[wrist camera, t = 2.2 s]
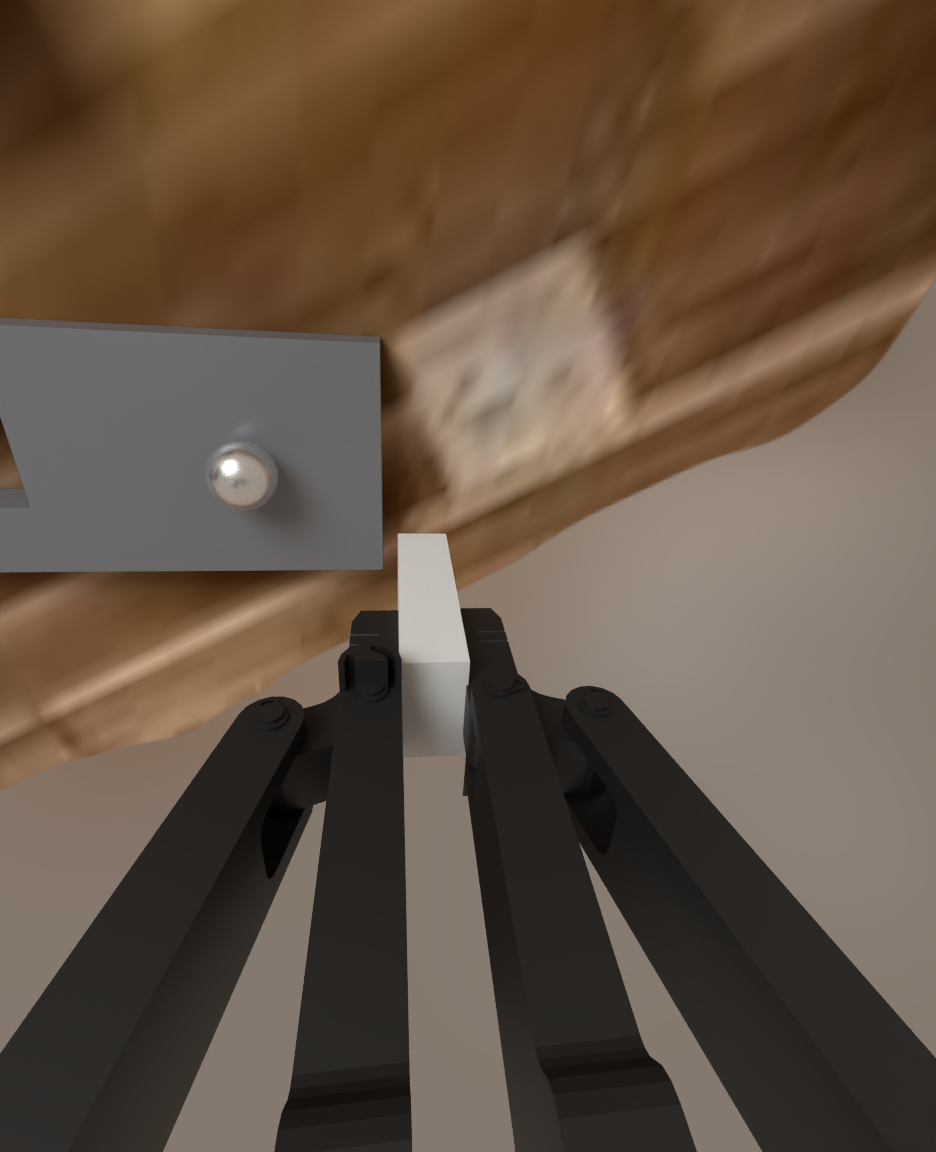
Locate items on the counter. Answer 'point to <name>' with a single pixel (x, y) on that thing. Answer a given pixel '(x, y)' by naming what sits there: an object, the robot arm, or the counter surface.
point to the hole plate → (187, 447)
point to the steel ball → (241, 475)
